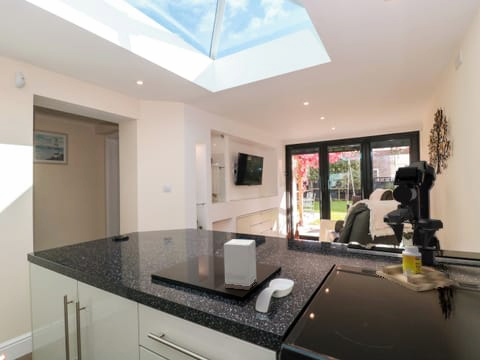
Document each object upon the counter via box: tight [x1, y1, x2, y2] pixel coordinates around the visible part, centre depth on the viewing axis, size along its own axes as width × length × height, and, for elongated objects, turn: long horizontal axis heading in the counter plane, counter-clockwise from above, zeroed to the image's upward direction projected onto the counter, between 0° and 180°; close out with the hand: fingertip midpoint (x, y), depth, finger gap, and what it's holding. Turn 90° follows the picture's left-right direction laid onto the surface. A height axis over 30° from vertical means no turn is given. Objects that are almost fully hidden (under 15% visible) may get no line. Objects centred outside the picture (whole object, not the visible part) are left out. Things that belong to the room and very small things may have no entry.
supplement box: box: [223, 238, 257, 286], centre depth 89 cm, size 9×9×15 cm
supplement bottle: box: [402, 244, 422, 276], centre depth 90 cm, size 6×6×10 cm
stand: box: [375, 263, 454, 292], centre depth 90 cm, size 16×16×4 cm
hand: (411, 245), depth 90 cm, fingers open, 9 cm apart
